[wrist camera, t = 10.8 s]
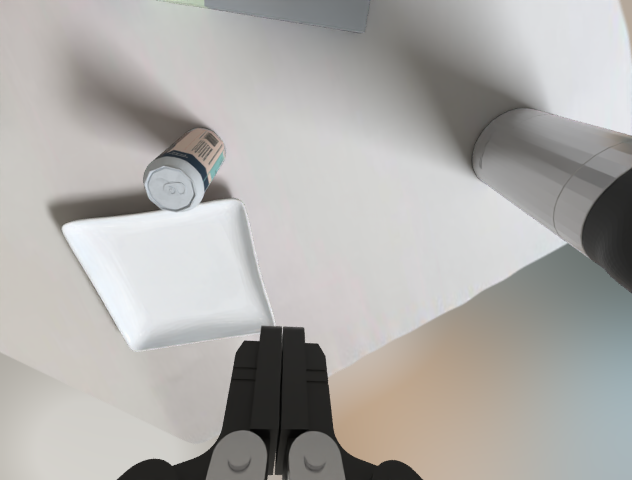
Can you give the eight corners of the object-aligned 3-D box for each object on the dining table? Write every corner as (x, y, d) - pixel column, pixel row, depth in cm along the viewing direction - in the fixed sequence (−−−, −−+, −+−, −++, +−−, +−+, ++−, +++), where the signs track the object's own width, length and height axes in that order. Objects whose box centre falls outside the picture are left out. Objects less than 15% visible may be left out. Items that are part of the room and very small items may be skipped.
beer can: (177, 128, 35) (129, 162, 25) (222, 125, 35) (193, 158, 25) (187, 171, 38) (148, 219, 27) (230, 168, 38) (207, 215, 28)
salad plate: (245, 186, 39) (242, 197, 37) (278, 316, 50) (277, 333, 47) (71, 211, 40) (53, 224, 37) (141, 336, 51) (131, 354, 48)
